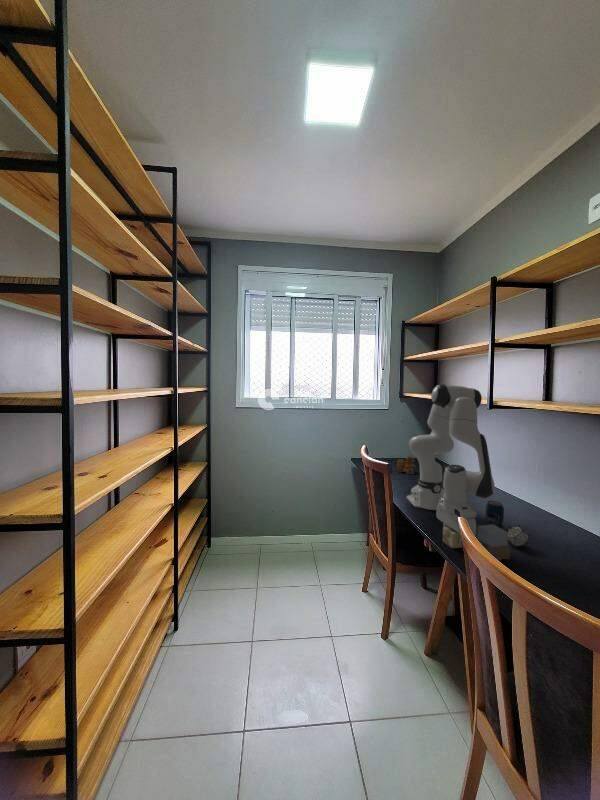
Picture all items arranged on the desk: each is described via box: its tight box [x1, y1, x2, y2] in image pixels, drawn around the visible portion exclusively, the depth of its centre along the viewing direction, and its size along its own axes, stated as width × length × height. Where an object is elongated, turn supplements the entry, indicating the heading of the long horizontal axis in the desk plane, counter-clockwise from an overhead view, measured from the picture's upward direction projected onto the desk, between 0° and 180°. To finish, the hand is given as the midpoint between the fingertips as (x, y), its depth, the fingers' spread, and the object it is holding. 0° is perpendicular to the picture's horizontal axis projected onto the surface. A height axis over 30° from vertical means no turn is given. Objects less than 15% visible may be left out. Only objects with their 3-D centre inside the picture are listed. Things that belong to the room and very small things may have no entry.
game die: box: [505, 524, 532, 549], centre depth 127 cm, size 9×8×10 cm
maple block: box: [442, 526, 463, 549], centre depth 128 cm, size 6×6×6 cm
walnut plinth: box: [476, 537, 511, 561], centre depth 120 cm, size 8×8×5 cm
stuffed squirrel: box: [396, 455, 416, 475], centre depth 236 cm, size 10×14×13 cm
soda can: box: [484, 500, 505, 530], centre depth 142 cm, size 7×7×12 cm
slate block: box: [477, 524, 509, 547], centre depth 120 cm, size 7×7×5 cm
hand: (454, 538), depth 128 cm, fingers open, 7 cm apart
